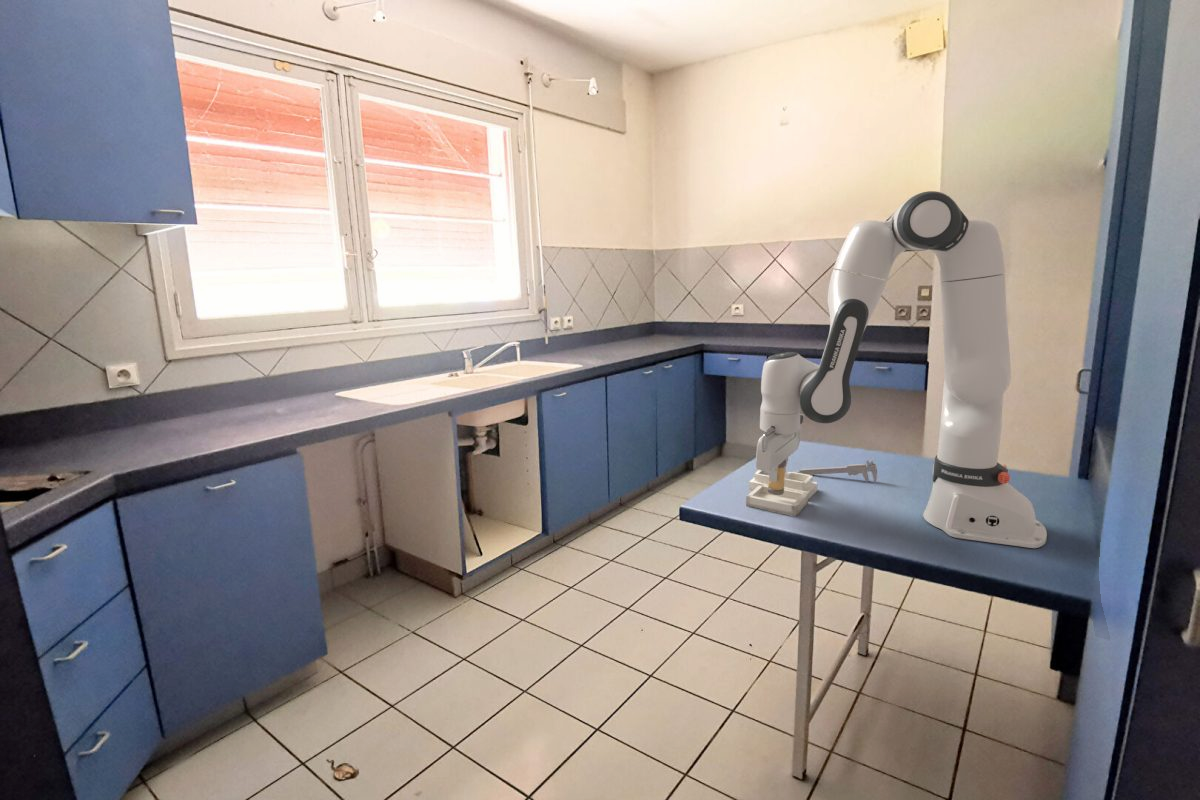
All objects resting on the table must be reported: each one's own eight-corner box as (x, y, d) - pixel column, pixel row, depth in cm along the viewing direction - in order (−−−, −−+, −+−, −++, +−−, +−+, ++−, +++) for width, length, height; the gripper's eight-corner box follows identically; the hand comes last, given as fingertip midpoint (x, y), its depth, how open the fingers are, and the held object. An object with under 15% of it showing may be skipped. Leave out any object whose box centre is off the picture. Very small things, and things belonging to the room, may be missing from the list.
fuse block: (817, 489, 152) (819, 452, 150) (807, 500, 146) (809, 461, 143) (760, 479, 160) (761, 443, 158) (748, 488, 154) (749, 452, 152)
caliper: (876, 482, 156) (878, 459, 154) (876, 484, 155) (878, 461, 153) (794, 473, 165) (795, 451, 163) (794, 474, 164) (795, 452, 162)
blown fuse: (786, 490, 144) (788, 459, 142) (780, 496, 141) (782, 464, 139) (771, 487, 146) (772, 456, 144) (765, 492, 143) (767, 461, 141)
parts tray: (807, 503, 144) (808, 493, 144) (795, 516, 137) (796, 506, 136) (759, 493, 151) (760, 484, 150) (746, 505, 144) (746, 496, 143)
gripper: (777, 435, 129) (775, 494, 133) (806, 413, 145) (803, 467, 149) (749, 431, 133) (747, 489, 136) (780, 410, 149) (778, 463, 152)
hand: (777, 477), depth 143 cm, fingers closed on blown fuse, 4 cm apart
